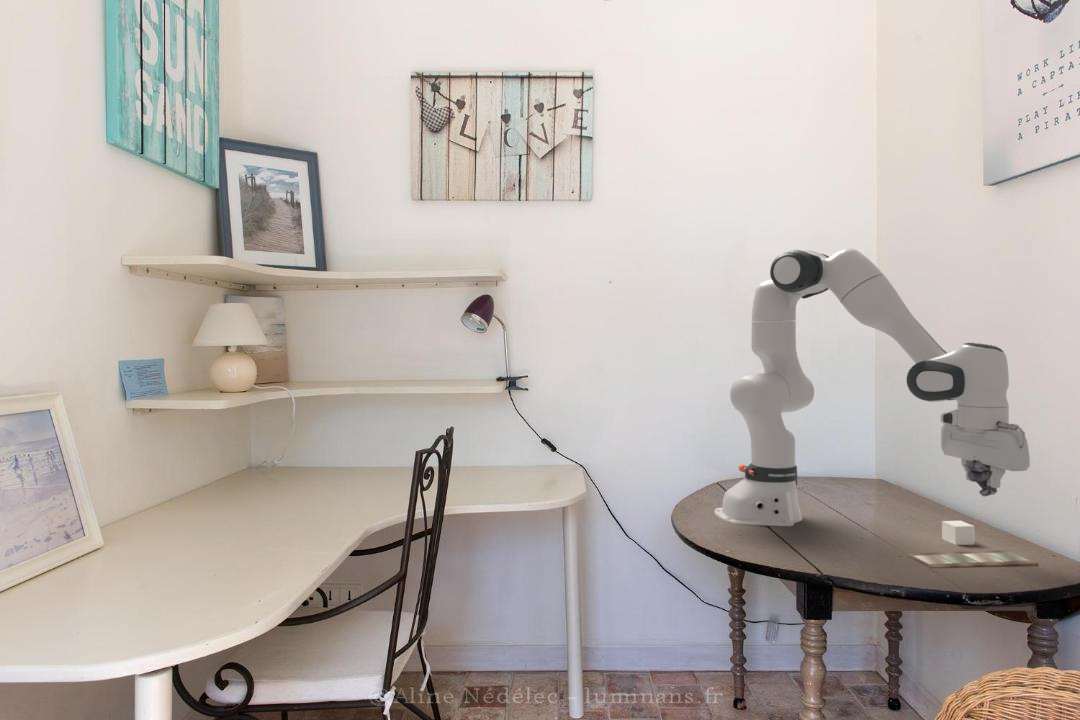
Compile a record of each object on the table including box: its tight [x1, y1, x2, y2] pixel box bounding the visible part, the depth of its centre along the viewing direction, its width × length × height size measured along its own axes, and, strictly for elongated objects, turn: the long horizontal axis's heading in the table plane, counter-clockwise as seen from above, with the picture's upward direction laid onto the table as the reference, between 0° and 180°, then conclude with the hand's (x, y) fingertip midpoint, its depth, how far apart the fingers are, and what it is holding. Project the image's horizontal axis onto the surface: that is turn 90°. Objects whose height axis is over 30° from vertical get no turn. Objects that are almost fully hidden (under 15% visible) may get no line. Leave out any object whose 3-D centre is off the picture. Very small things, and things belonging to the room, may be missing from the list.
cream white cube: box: [941, 520, 976, 546], centre depth 143 cm, size 4×4×4 cm
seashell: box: [968, 460, 998, 497], centre depth 130 cm, size 5×5×10 cm
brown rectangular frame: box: [905, 549, 1039, 569], centre depth 130 cm, size 23×8×1 cm, turn 93°
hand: (982, 483), depth 130 cm, fingers closed on seashell, 4 cm apart
